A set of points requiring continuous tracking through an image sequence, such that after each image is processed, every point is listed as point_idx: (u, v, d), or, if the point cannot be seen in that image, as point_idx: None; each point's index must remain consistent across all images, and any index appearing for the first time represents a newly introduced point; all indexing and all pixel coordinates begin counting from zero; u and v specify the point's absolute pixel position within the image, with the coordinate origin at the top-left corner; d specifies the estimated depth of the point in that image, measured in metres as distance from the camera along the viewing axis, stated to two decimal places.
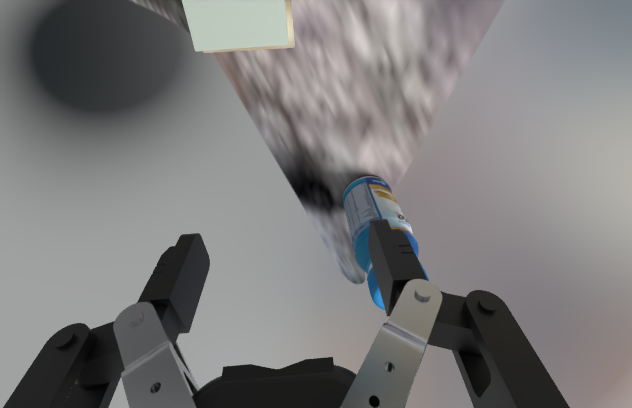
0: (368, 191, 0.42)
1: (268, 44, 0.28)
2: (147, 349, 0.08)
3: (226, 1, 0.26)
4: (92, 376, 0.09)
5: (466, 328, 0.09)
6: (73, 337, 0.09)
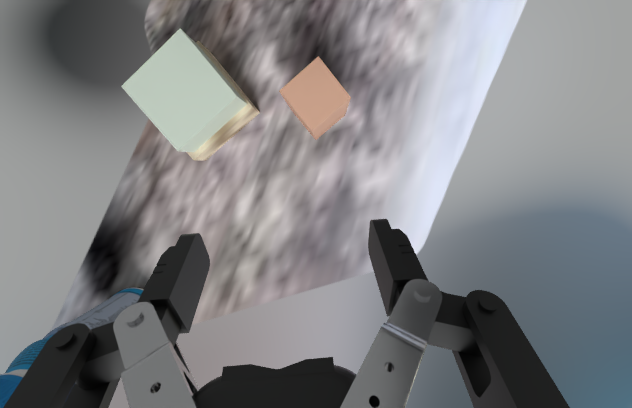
0: None
1: (166, 136, 0.31)
2: (147, 349, 0.08)
3: (169, 91, 0.31)
4: (92, 376, 0.09)
5: (466, 328, 0.09)
6: (73, 337, 0.09)
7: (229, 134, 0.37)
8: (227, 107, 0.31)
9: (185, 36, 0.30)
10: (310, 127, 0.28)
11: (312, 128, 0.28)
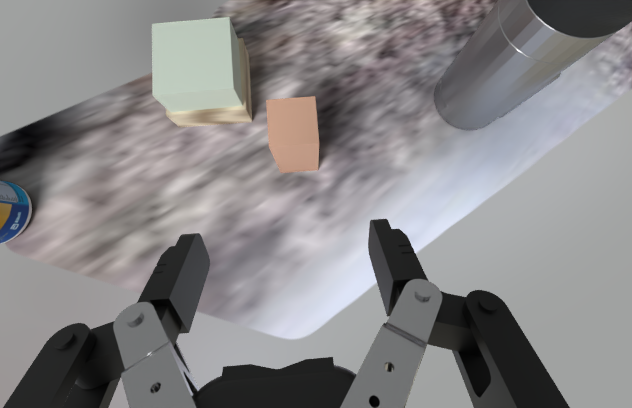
0: None
1: (153, 79, 0.32)
2: (147, 349, 0.08)
3: (185, 51, 0.33)
4: (92, 376, 0.09)
5: (466, 328, 0.09)
6: (73, 337, 0.09)
7: (213, 119, 0.38)
8: (220, 91, 0.32)
9: (228, 24, 0.33)
10: (270, 143, 0.28)
11: (271, 145, 0.28)
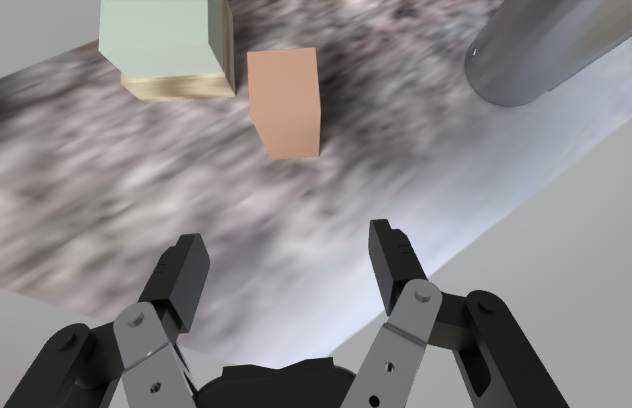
0: None
1: (101, 30, 0.24)
2: (147, 349, 0.08)
3: None
4: (92, 376, 0.09)
5: (466, 328, 0.09)
6: (73, 337, 0.09)
7: (184, 90, 0.29)
8: (191, 48, 0.24)
9: None
10: (251, 111, 0.20)
11: (253, 114, 0.20)
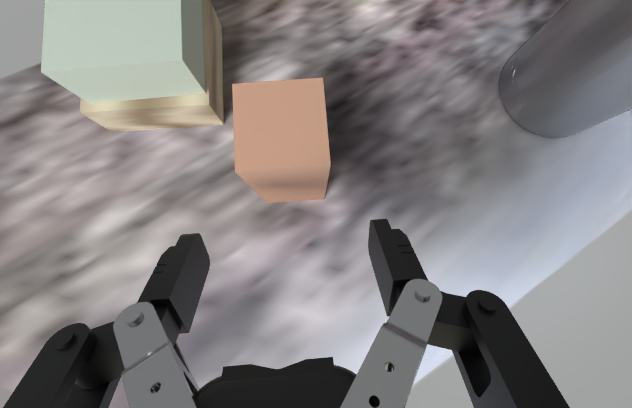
0: None
1: (44, 45, 0.19)
2: (147, 349, 0.08)
3: None
4: (92, 376, 0.09)
5: (466, 328, 0.09)
6: (73, 337, 0.09)
7: (160, 119, 0.24)
8: (160, 66, 0.19)
9: None
10: (237, 165, 0.15)
11: (239, 169, 0.15)
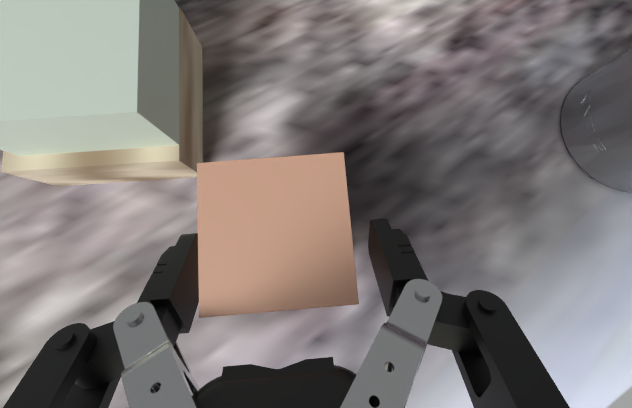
0: None
1: None
2: (147, 349, 0.08)
3: (24, 16, 0.13)
4: (92, 376, 0.09)
5: (466, 328, 0.09)
6: (73, 337, 0.09)
7: (117, 174, 0.18)
8: (107, 119, 0.13)
9: None
10: (203, 306, 0.09)
11: (206, 312, 0.09)
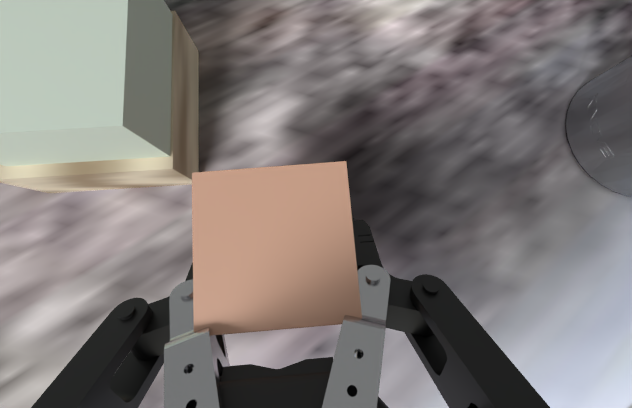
0: None
1: None
2: (191, 327, 0.09)
3: (7, 24, 0.13)
4: (144, 350, 0.10)
5: (410, 309, 0.10)
6: (134, 310, 0.09)
7: (110, 182, 0.18)
8: (91, 132, 0.12)
9: None
10: (198, 324, 0.08)
11: None
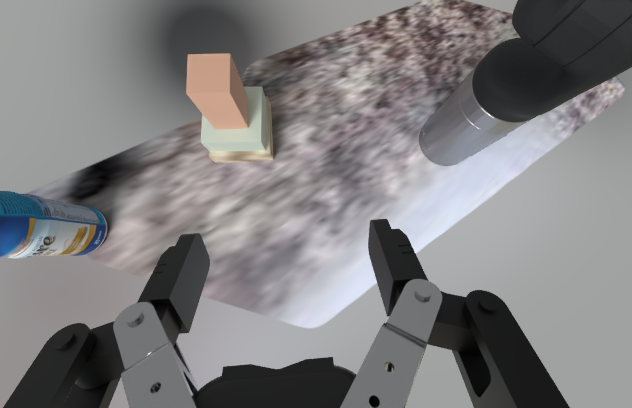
0: (86, 221, 0.44)
1: (202, 130, 0.43)
2: (147, 349, 0.08)
3: None
4: (92, 376, 0.09)
5: (466, 328, 0.09)
6: (73, 337, 0.09)
7: (244, 158, 0.49)
8: (250, 143, 0.43)
9: (260, 92, 0.44)
10: (187, 90, 0.33)
11: (188, 92, 0.33)
